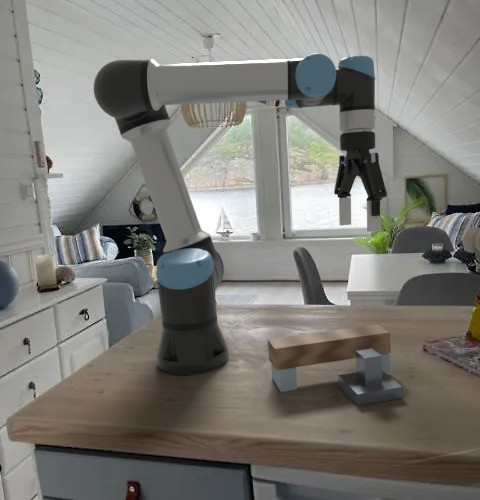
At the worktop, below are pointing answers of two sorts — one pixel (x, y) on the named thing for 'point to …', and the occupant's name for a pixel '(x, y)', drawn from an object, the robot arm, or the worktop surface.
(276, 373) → the posts
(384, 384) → the fulcrum
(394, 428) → the worktop surface
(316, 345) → the plank
